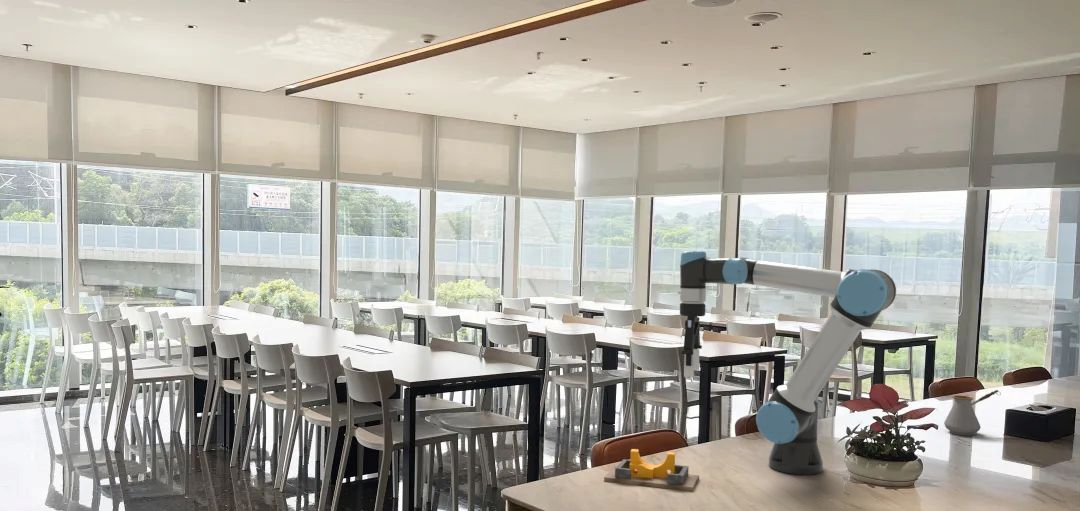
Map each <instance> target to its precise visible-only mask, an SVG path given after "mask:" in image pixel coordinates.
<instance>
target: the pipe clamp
mask: <svg viewBox="0 0 1080 511" xmlns="http://www.w3.org/2000/svg"><path fill="white" fill-rule="evenodd" d="M629 460H630V468H629V469H631V476H633V477H644V478H653V477H665V478H667V473H671V474H675V465H676V452H674V451H668V452H667V455H666V458H665V460H664V461H663V462H662V463H660V464H650V463H647V462H645V461H644V460H643V458H642V457H641V455H640V450H639V449H638V448H631V450H630V458H629Z"/></svg>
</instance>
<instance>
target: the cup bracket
mask: <svg viewBox="0 0 1080 511" xmlns="http://www.w3.org/2000/svg"><path fill="white" fill-rule="evenodd" d="M629 468H630V459H625V458H624V459H622V460H621V461H620V462H619V463H618V464H617V465H614V466H613V467H612V468H611V469H610V470H609V471H608V472H607V474H606V475H605V476H603V481H604V482H610V483H611V482H612V483H620V484H627V485H637V486H645V487H653V488H654V487H655V488H661V489H670V490H677V491H686V492H693V491H694V490H695V488H696V485H697V484H698V482H699V479H700V475H698V474H689V466H688V465H682V464H680V465H679V464H675V474H671V473H667V478H665V477H653V478H644V477H633V476H631V469H629Z"/></svg>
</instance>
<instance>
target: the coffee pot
mask: <svg viewBox="0 0 1080 511" xmlns="http://www.w3.org/2000/svg"><path fill="white" fill-rule="evenodd" d="M998 393H999V394H998ZM995 394H996V395H997V396H1001V395H1002V393H1001V392H1000V391H999V390H998V389H995V390H994V391H991V392H989V393H986V394H985V395H984V396H981V397H980V398H978V399H977V400H975V401H973V400H974V397H973V396H972V397H971V396H966V395H953V396H952V398H953V400H954V403H953V405H952V407H951V409H950V411H949V412H948V414H947V416H946V419H945V420H944V422H943V423H944V424H943V425H944V426H945V428H946V429H947V430H948V431H949V433H951V434H955V435H959V436H974V435H975V434H977V433H978V432H979V431H980V430H981V424H980V421H979V419H978V417H977V415H976V413H975V411H974V408H973V406H974V405H977V404H978V403H980V402H981V401H984V400H986V399H989V398H991V396H995Z"/></svg>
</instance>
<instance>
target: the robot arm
mask: <svg viewBox="0 0 1080 511" xmlns="http://www.w3.org/2000/svg"><path fill="white" fill-rule="evenodd" d="M679 268H680V269H679V272H680V273H679V274H680V275H679V276H680V277H679V278H680V281H679V282H680V285H679V286H680V288H679V291H678V292H677V294H678V295H680V297H679V298H680V299H679V301H680V302H681V303H680V304H679V315H680V316H683V317H687V319H685V321H684V338H683V339H684V342H683V349H682V350H681V355H683V356H684V357H683V367H684V368H683V377H684V378H694V375H695V374H694V371H698V372H699V371H700V350H702V348H703V345H701V340H700V339H701V335H700V324H701V322H700V317H705V316H706V304H705V302H706V301H707V300H706V298H707V297H706V296H707V293H706V292H707V286H706V285H707V284H719V285H722V284H723V285H731V286H733V285H742V284H746V285H754V286H760V287H766V288H771V289H772V288H773V289H779V290H785V291H792V292H799V293H804V294H810V295H811V294H812V295H817V296H824V297H829V298H830V297H831V298H833V300H831V302H830V304H829V307H830V311H831V313H830V315H829V316H828V318H827V320H826V322H825V323H824V324H823V326H822V328H821V329H820V330H819V332H818V334H816V336H815V338H814V339H813V341H812V343H811V344H810V346H809V347H808V349H807V351H806V352H805V354H804V355H803V356H802V359H800V361H799V364H798V365H797V366H796V368H795V369H794V371H793V373H792V374H791V376H790V377H789V379H788V380H787V382H786V383H785V384H781V385H778V386H777V387H776V388H775V390H774V391H773V393H772V395H771V396H770V397H769V399H768V400H767V402H765V403H764V404H762V405H761V406H760V408H759V409H758V410H757V413H756V416H755V421H756V422H755V423H756V426H757V430H758V431H759V432H760V435H762V437H763V438H765V439H766V441H767V440H768V442H770V443H773V446H772V449H771V450H770V454H769V457H768V466H769V467H770V468H771V469H773V470H774V471H778V472H782V473H786V474H792V475H793V474H794V475H809V476H810V475H816V474H821V473H823V470H824V462H823V459H822V455H821V451H820V449H819V445H818V422H819V421H818V419H819V417H818V414H819V404H820V403H819V395H820V393H822V392H821V391H822V390H823V388H824V387H825V386H826V384H827V383H828V381H829V380H830V378H831V376H832V375H833V373H834V372H835V371H836V369H837V367H838V366H839V364H840V363H841V362H842V360H843V358H844V357H845V355H846V354H847V352H848V351H849V350H850V348H851V346H852V344H853V343H854V342H855V340H856V339H857V337H858V336H859V334H860V333H861V331H863V330H867V329H871V327H872V326H873V325H874V322H876V320H877V318H878V317H879V316H880V315H881V312H882V311H884V310H887V309H888V308H889V307H890V306H891V305H892V304H893V302H894V301H895V299H896V296H897V287H896V286H897V285H896V282H894V280H893V278H892V277H891V276H890V275H889V274H887V273H886V272H885V271H882V270H879V269H866V268H865V269H863V268H862V269H851V268H849V269H847V270H845V271H839V270H832V269H824V268H818V267H810V266H803V265H795V264H788V263H783V262H782V263H779V262H773V261H767V260H760V259H759V260H757V259H751V258H748V257H713V258H712V257H708V256H707V252H706V251H703V250H701V251H700V250H684V251H682V252H681V254H680V265H679Z"/></svg>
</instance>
